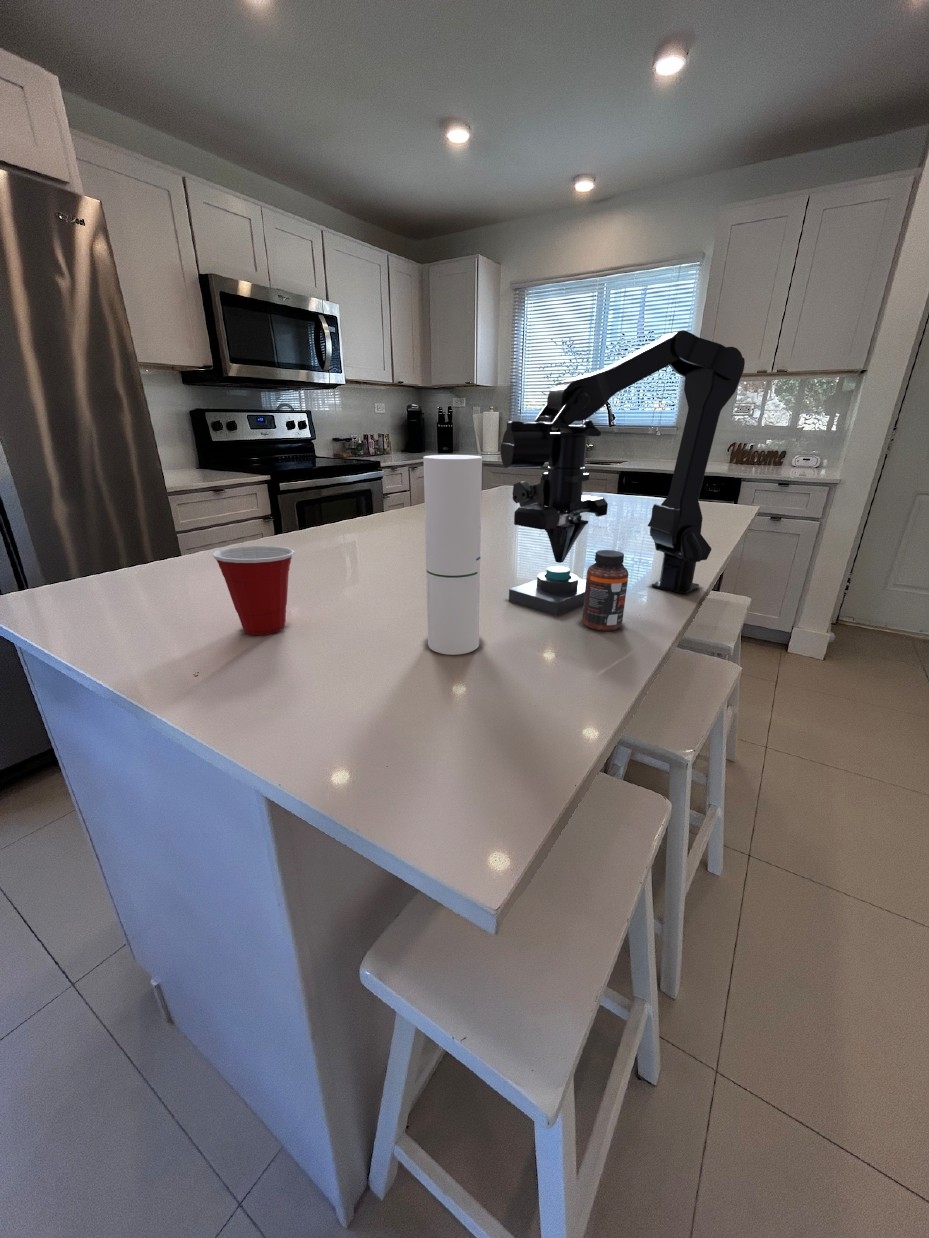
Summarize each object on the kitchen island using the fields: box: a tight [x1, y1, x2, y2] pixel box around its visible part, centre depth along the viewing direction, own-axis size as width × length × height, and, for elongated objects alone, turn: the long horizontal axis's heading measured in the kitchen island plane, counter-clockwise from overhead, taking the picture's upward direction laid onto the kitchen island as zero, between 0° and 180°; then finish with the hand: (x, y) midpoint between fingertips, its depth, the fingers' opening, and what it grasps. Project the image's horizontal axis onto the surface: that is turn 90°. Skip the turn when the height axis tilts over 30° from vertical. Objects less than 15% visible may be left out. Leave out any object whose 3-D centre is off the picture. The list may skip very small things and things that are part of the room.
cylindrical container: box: [423, 454, 483, 656], centre depth 66 cm, size 7×7×25 cm
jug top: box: [508, 571, 586, 617], centre depth 88 cm, size 14×10×4 cm
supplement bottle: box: [581, 549, 629, 632], centre depth 76 cm, size 6×6×11 cm
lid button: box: [545, 565, 571, 581], centre depth 87 cm, size 4×4×2 cm
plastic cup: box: [212, 545, 296, 636], centre depth 74 cm, size 11×11×12 cm
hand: (559, 562), depth 86 cm, fingers closed
